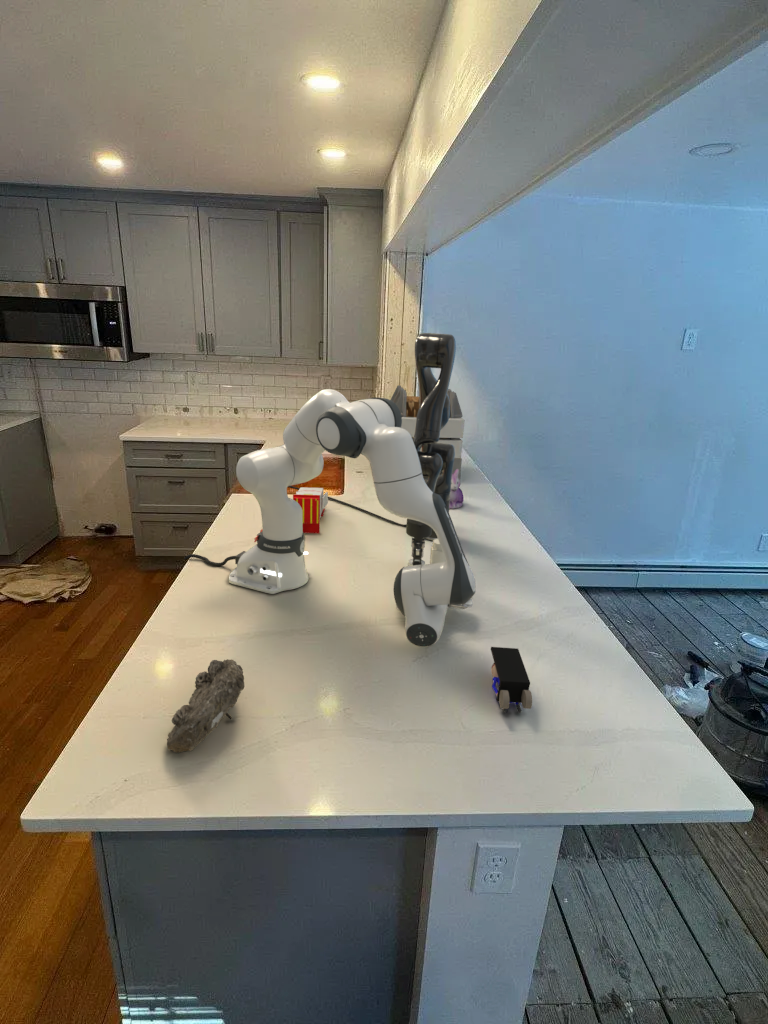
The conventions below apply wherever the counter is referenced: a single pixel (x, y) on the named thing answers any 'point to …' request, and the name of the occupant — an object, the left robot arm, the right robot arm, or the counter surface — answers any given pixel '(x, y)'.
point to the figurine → (455, 492)
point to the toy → (311, 507)
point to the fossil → (206, 705)
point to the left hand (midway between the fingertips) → (436, 578)
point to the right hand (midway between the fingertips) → (416, 571)
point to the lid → (415, 560)
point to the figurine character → (510, 678)
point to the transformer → (450, 430)
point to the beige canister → (436, 553)
